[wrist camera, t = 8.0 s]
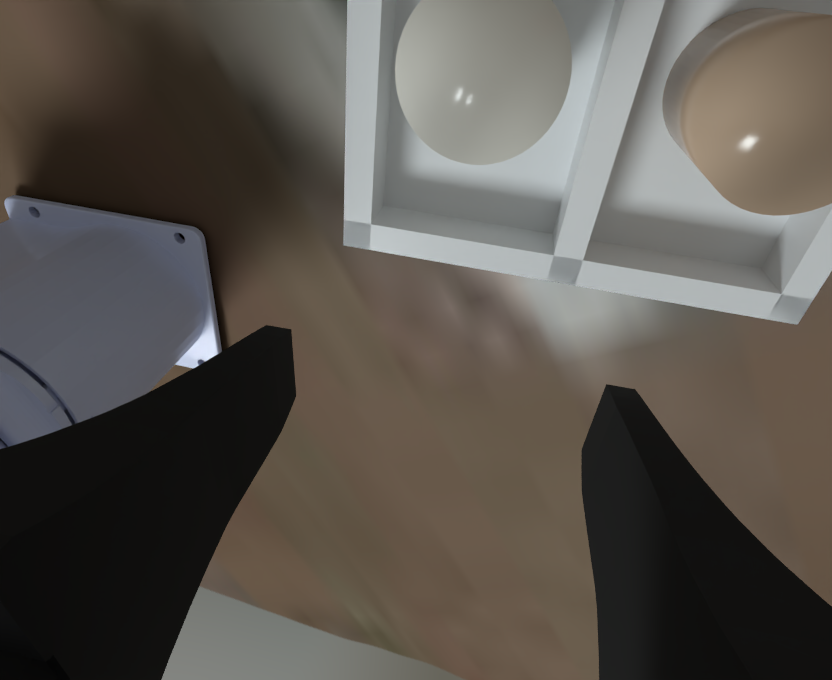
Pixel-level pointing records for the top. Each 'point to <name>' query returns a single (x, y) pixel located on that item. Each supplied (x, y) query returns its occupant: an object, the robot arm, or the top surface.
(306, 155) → the top surface
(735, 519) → the robot arm
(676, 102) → the brown egg
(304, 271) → the top surface
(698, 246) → the holder
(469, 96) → the cream egg
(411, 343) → the top surface
